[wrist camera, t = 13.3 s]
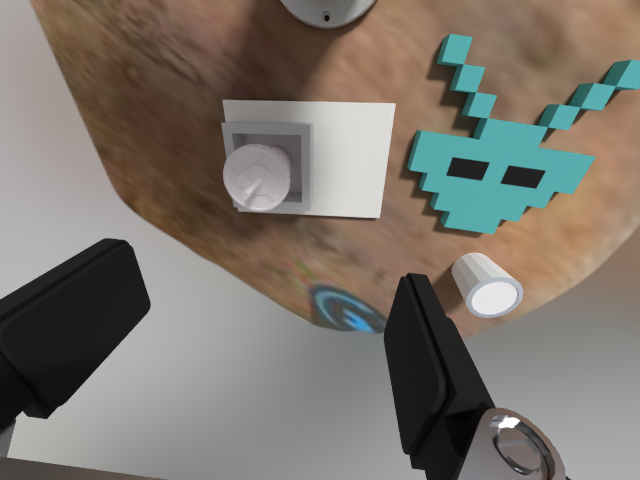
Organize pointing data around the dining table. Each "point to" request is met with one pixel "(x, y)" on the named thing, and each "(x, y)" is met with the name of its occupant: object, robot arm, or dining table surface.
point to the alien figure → (503, 150)
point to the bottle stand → (319, 151)
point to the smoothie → (258, 176)
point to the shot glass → (486, 286)
